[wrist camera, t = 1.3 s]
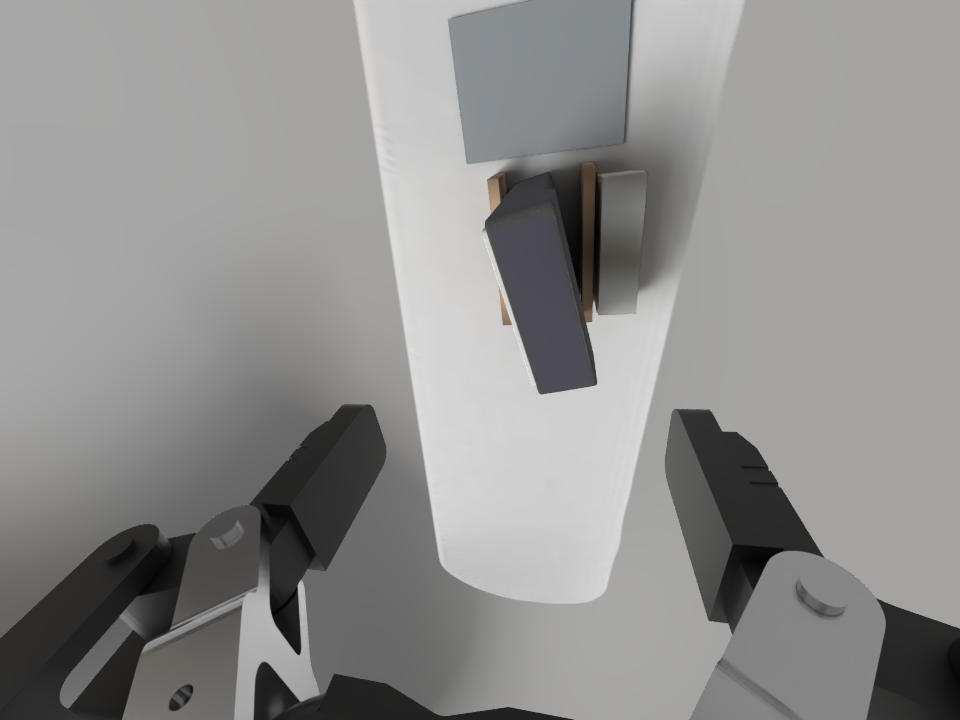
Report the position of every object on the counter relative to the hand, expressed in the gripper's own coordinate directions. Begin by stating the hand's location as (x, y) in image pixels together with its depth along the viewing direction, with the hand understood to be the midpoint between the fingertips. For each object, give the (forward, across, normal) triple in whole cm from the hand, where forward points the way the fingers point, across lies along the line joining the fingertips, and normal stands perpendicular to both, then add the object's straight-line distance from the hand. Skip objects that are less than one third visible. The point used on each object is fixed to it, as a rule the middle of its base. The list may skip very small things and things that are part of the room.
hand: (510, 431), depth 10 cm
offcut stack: (+27, -5, +1) cm, 27 cm away
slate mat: (+26, 0, -10) cm, 28 cm away
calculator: (+27, 0, +1) cm, 27 cm away
